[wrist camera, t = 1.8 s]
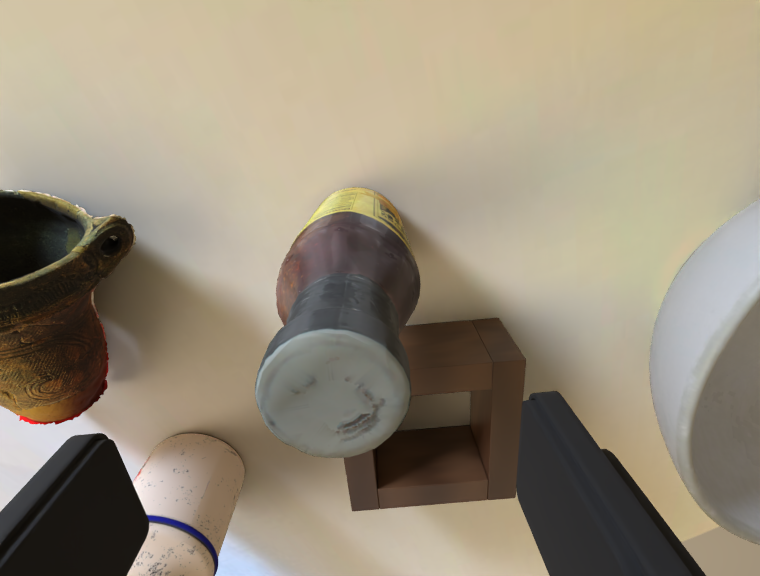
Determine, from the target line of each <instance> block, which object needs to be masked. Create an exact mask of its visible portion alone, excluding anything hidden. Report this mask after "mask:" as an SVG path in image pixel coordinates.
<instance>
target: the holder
mask: <svg viewBox="0 0 760 576" xmlns="http://www.w3.org/2000/svg"><path fill="white" fill-rule="evenodd" d="M399 339H400V341H401V343H402V345H403V347H404V349H405V351H406V353H407V356H408V360H409V368H410V381H411V396H418V395H430V394H441V393H453V392H465V391H471V397H470V426H469V425H468V426H456V427H444V428H433V429H421V430H409V431H397V432H394V433H393V434H392V435H391V436H390V437H389V438H388V439H387V440H385V441H384V442H383V443H382V444H381V445H379V446H378V447H377V448H375V449H372V450H369V451H368V452H365V453H362V454H359V455H355V456H352V457H346V458H344V463H345V469H346V475H347V482H348V488H349V495H350V501H351V507H352V511H362V510H374V509H379V508H380V509H385V508H397V507H409V506H421V505H433V504H445V503H457V502H469V501H481V500H487V499H488V500H495V499H507V498H515V495H516V480H517V466H518V452H519V438H520V424H521V411H522V403H523V392H524V379H525V367H526V359H525V357H524V356H523V354H522V353H521V351H520V350H519V348H518V347H517V345H516V344H515V342H514V341H513V339H512V338H511V336H510V335H509V333H508V332H507V330H506V329H505V327H504V326H503V324H502V322H501V321H500V319H499V318H492V319H480V320H472V321H471V320H469V321H457V322H446V323H434V324H422V325H411V326H404V327H403V329H402V331H401V332H400V334H399Z"/></svg>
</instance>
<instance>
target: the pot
mask: <svg viewBox="0 0 760 576" xmlns="http://www.w3.org/2000/svg"><path fill="white" fill-rule="evenodd" d="M134 231H135V230H134V229H133V226H132V225H131V224H128V223H127V221H126V219H125V218H122V217H121V216H117V215H115V214H112V215H110V216H107V217H101V218H100V217H95V218H93V219H92V216H90V215H88V214H87V213H86V212H85V209H84V208H81V207H78V205H75V206H74V205H72V204H71V203H70V202H67V201H65V200H63V199H62V198H57V197H56V196H54V195H53V197H51V196H50V195H49V194H44V193H39V192H34V193H33V192H32V191H25V190H19V191H17V192H15V191H12V190H5V191H3V190H0V405H1V406H3V407H4V408H6V409H9V410H10V411H12V412H13V413H15V414H17V415H20V420H24V421H25V422H29V423H30V424H39V423H40V424H44V425H46V424H48V423H53V422H55V424H59V423H62V422H64V421H67V420H73V418H74V417H78V416H79V415H81V414H82V412H84V411H86V410H87V409H88V408H90V407H91V406H92V405H93V403H94V402H97V401H98V399H99V398H100V395H103V392H104V390H106V389H107V380H105V379H106V376H107V373H108V362H107V361H108V360H109V358H108V353H107V347H106V346H107V343H106V341H105V340H106V335H105V332H104V327H103V325H102V324H101V323H100V322H101V321H100V320H99V315H98V311H97V309H96V306H95V305H94V293H92V292H93V291H94V290H95V288H96V286H97V284H98V283H99V282H100V281H101V280H102V279H103V278H107V277H108V276H109V275H110V274H111V273H112V272H113V271H114V269H115V268H116V266H117V265H118V264H119V262H120V261H121V259H122V258H123V257H125V256H126V255H127V254H128V253H129V251H130V249H131V248H132V246H133V245H134V244H135V241H136V236H135V234H134ZM111 236H116V237H118V238H116V239H115V241H114V240H113V238H111ZM20 420H19V421H20Z"/></svg>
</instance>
